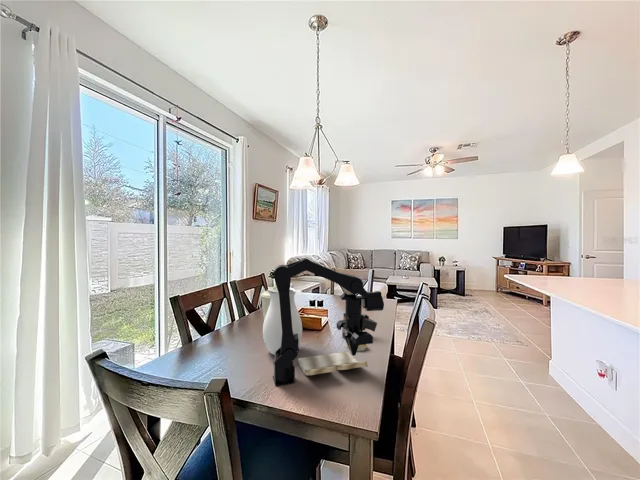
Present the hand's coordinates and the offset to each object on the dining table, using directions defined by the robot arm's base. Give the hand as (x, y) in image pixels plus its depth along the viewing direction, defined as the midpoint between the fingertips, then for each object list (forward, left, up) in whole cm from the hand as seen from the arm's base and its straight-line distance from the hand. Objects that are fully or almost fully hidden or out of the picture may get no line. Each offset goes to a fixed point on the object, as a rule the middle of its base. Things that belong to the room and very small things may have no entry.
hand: (353, 355), depth 101 cm
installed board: (-6, +11, -7) cm, 15 cm away
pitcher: (-18, +32, -7) cm, 38 cm away
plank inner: (-12, +2, -5) cm, 13 cm away
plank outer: (0, +2, -5) cm, 6 cm away
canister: (-16, +70, -7) cm, 73 cm away
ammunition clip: (+16, +35, -8) cm, 39 cm away
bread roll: (+12, +22, -8) cm, 26 cm away
